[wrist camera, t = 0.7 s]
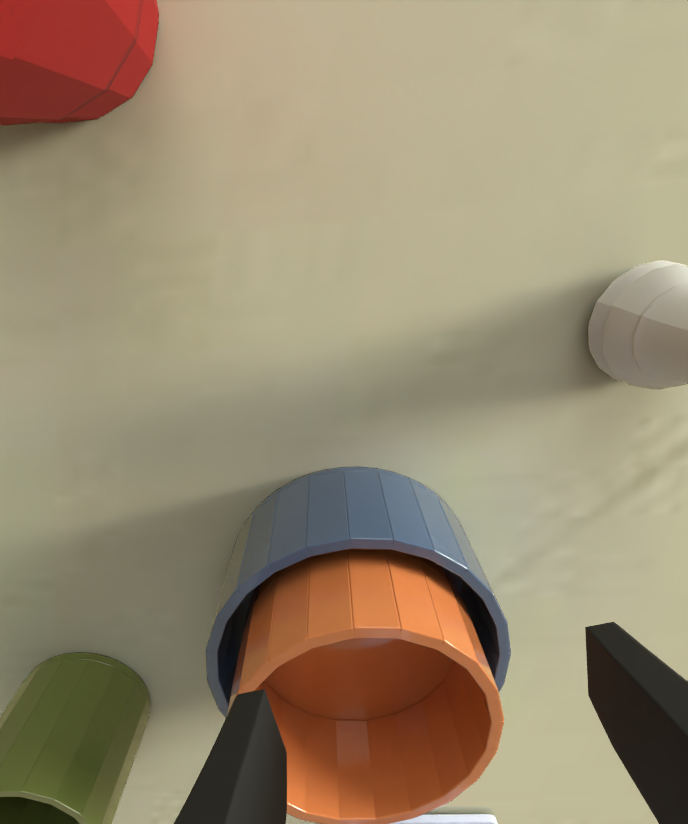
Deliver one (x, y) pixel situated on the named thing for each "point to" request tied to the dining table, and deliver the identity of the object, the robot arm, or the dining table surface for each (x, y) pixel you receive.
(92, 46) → the plastic cup
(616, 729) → the robot arm
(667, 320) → the rook chess piece
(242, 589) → the stack big
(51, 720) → the olive cup
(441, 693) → the stack mid
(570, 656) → the dining table surface
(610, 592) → the dining table surface
